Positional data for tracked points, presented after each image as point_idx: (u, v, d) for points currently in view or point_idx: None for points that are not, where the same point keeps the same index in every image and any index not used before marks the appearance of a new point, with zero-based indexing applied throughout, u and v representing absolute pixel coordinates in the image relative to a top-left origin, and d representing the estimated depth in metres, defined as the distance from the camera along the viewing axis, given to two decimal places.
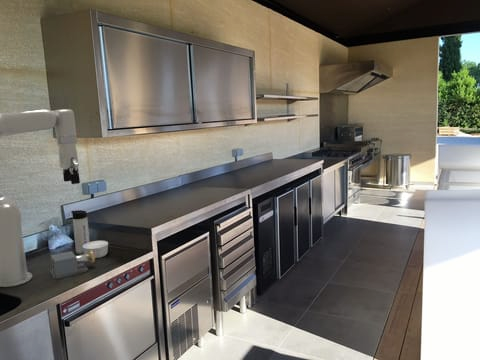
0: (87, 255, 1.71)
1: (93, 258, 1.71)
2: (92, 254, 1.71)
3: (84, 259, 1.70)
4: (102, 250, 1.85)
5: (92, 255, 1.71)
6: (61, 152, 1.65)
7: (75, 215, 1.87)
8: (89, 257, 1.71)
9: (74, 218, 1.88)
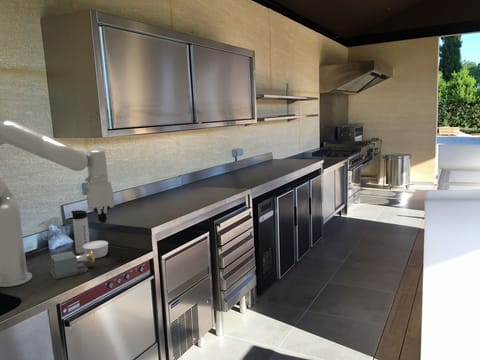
0: (87, 255, 1.71)
1: (93, 258, 1.71)
2: (92, 254, 1.71)
3: (84, 259, 1.70)
4: (102, 250, 1.85)
5: (92, 255, 1.71)
6: (103, 190, 1.70)
7: (75, 215, 1.87)
8: (89, 257, 1.71)
9: (74, 218, 1.88)
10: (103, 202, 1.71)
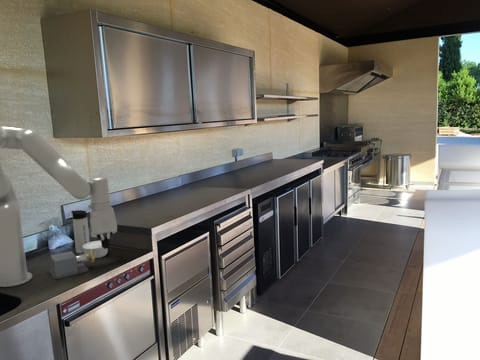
0: (87, 255, 1.71)
1: (93, 258, 1.71)
2: (92, 254, 1.71)
3: (84, 259, 1.70)
4: (102, 250, 1.85)
5: (92, 255, 1.71)
6: (105, 217, 1.72)
7: (75, 215, 1.87)
8: (89, 257, 1.71)
9: (74, 218, 1.88)
10: (106, 228, 1.73)
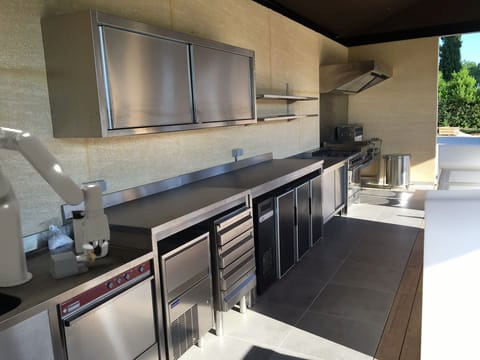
0: (87, 255, 1.71)
1: (93, 258, 1.71)
2: (92, 254, 1.71)
3: (84, 259, 1.70)
4: (102, 250, 1.85)
5: (92, 255, 1.71)
6: (98, 224, 1.71)
7: (75, 215, 1.87)
8: (89, 257, 1.71)
9: (74, 218, 1.88)
10: (99, 236, 1.71)
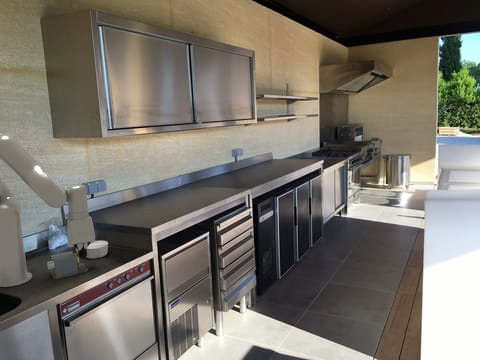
0: None
1: (78, 261, 1.68)
2: (77, 257, 1.68)
3: None
4: (102, 250, 1.85)
5: (77, 258, 1.68)
6: (83, 226, 1.67)
7: None
8: None
9: None
10: (83, 238, 1.68)
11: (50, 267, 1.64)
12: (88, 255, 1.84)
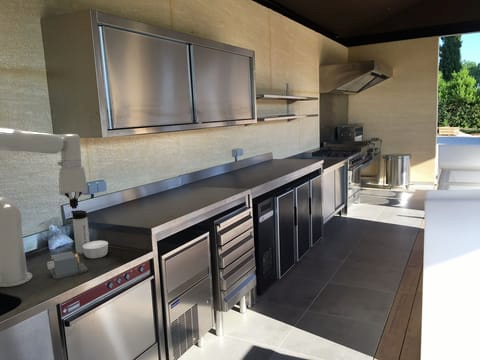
0: None
1: (78, 261, 1.68)
2: (77, 257, 1.68)
3: None
4: (102, 250, 1.85)
5: (77, 258, 1.68)
6: (75, 175, 1.68)
7: (75, 215, 1.87)
8: None
9: (74, 218, 1.88)
10: (75, 187, 1.69)
11: (50, 267, 1.64)
12: (88, 255, 1.84)
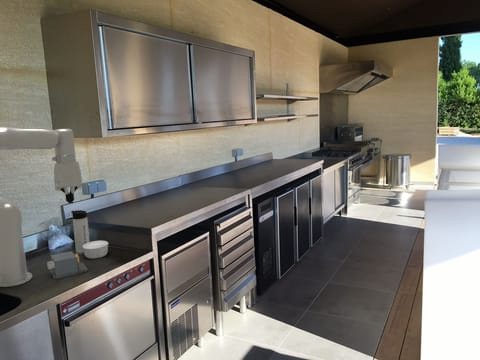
0: None
1: (78, 261, 1.68)
2: (77, 257, 1.68)
3: None
4: (102, 250, 1.85)
5: (77, 258, 1.68)
6: (70, 170, 1.69)
7: (75, 215, 1.87)
8: None
9: (74, 218, 1.88)
10: (70, 182, 1.69)
11: (50, 267, 1.64)
12: (88, 255, 1.84)
